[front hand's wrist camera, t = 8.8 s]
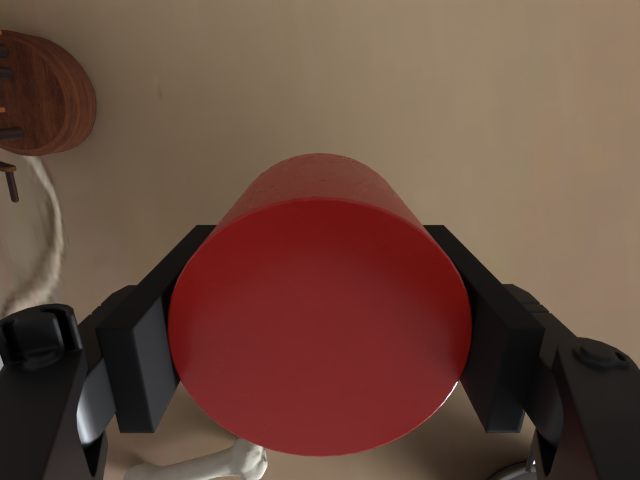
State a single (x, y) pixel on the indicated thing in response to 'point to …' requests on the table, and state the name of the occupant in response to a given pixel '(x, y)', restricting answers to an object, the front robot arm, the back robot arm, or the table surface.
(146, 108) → the table surface
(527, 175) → the table surface
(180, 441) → the table surface
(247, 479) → the dog toy
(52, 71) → the brown wooden figurine
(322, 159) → the red cylinder
